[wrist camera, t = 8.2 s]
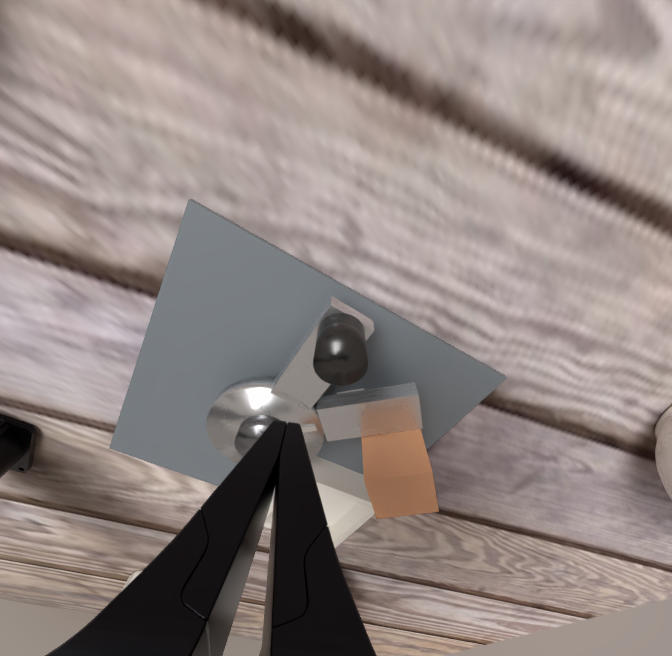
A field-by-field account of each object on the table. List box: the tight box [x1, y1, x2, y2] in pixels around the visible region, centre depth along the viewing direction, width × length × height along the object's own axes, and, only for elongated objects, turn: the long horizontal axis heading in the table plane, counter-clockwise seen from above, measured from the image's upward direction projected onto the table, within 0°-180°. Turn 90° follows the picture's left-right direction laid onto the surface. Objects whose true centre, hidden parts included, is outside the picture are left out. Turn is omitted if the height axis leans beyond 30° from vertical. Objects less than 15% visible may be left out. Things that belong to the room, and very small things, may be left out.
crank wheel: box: [206, 296, 423, 463], centre depth 19 cm, size 14×13×4 cm
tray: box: [264, 456, 375, 548], centre depth 28 cm, size 8×8×2 cm
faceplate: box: [110, 199, 506, 486], centre depth 23 cm, size 23×23×3 cm
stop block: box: [361, 429, 439, 519], centre depth 21 cm, size 4×4×6 cm
